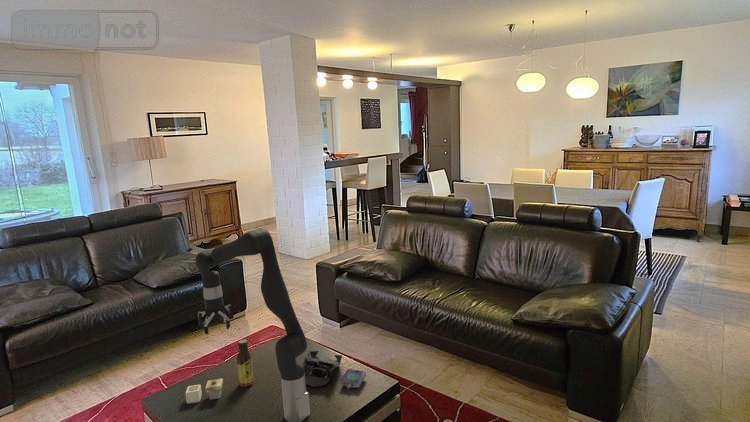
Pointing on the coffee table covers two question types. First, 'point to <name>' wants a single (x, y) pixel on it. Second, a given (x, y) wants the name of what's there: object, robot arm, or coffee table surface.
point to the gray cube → (215, 394)
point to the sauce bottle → (244, 365)
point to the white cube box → (193, 394)
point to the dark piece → (319, 369)
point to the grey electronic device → (353, 378)
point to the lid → (214, 385)
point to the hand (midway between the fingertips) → (217, 331)
